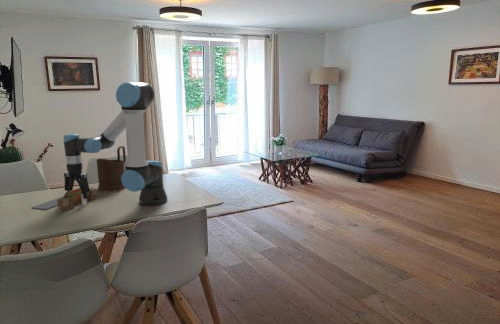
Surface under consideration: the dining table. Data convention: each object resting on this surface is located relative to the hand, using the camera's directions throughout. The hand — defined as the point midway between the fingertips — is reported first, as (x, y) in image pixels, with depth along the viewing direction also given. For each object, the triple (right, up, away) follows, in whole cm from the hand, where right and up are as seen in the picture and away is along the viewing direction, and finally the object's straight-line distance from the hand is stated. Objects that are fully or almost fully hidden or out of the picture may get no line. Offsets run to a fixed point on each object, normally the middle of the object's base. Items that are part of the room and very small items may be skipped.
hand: (78, 203), depth 199 cm
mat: (-13, 0, +4) cm, 14 cm away
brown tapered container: (+7, +7, +35) cm, 37 cm away
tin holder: (0, 0, 0) cm, 0 cm away
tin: (-1, 0, +1) cm, 2 cm away
